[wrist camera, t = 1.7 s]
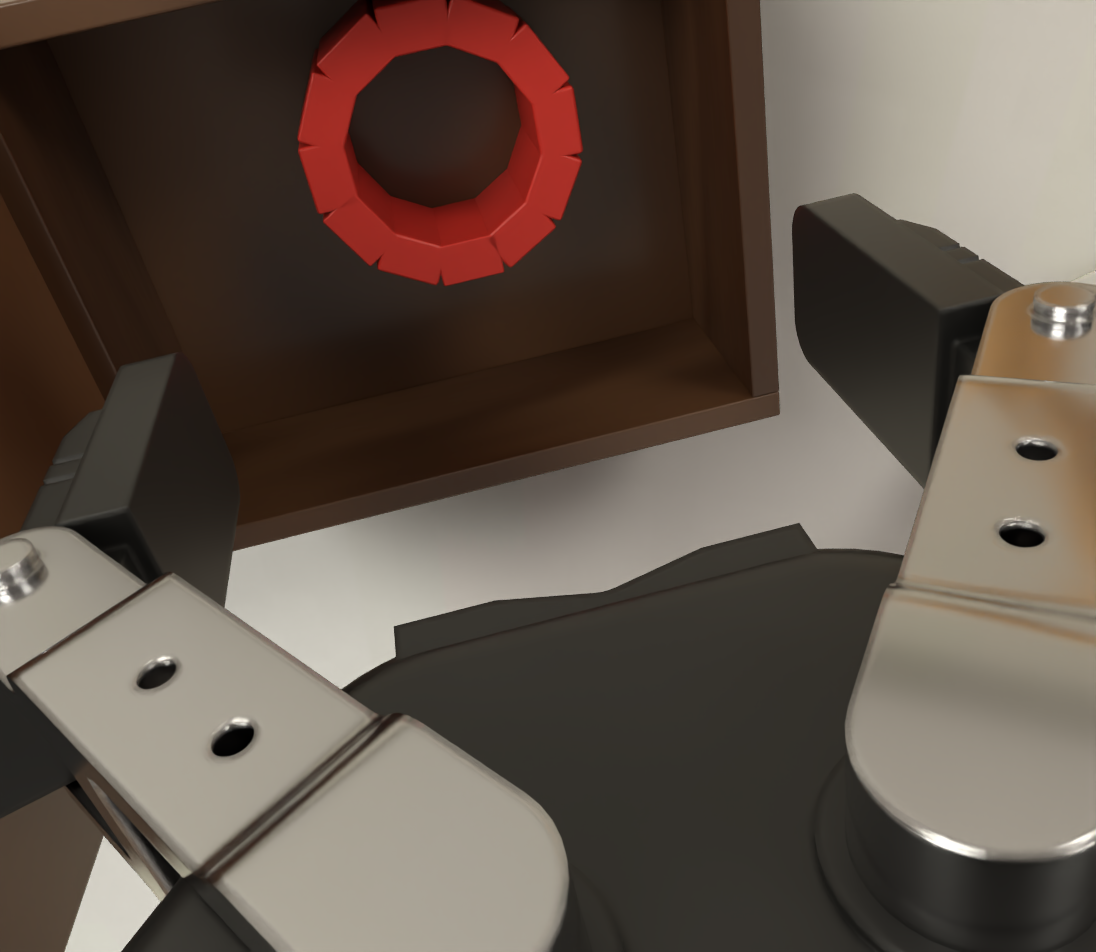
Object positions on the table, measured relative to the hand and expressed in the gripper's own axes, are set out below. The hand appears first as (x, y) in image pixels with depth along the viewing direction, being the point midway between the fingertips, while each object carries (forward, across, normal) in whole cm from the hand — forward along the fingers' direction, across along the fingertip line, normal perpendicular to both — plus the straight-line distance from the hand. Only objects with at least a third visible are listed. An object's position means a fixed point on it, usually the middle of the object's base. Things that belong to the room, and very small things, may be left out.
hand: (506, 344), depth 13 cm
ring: (+14, 0, 0) cm, 14 cm away
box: (+14, +1, +2) cm, 14 cm away
